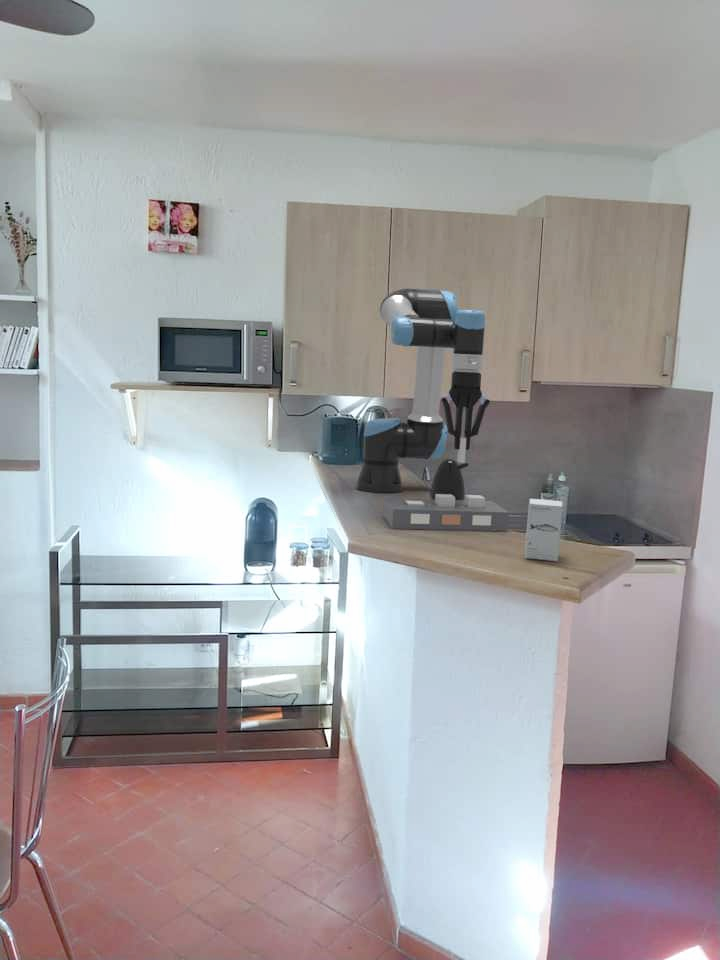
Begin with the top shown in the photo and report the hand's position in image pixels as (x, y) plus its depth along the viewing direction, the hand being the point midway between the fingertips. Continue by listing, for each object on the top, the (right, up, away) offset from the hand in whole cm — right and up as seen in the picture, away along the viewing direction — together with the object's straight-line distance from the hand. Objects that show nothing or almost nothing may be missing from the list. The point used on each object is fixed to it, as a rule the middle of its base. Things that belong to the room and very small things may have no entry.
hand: (460, 461), depth 208 cm
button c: (+4, -13, +3) cm, 14 cm away
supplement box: (+14, -22, -29) cm, 39 cm away
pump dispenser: (-1, -14, +21) cm, 25 cm away
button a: (-12, -15, +1) cm, 19 cm away
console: (-4, -16, +2) cm, 17 cm away
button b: (-4, -13, +2) cm, 14 cm away
